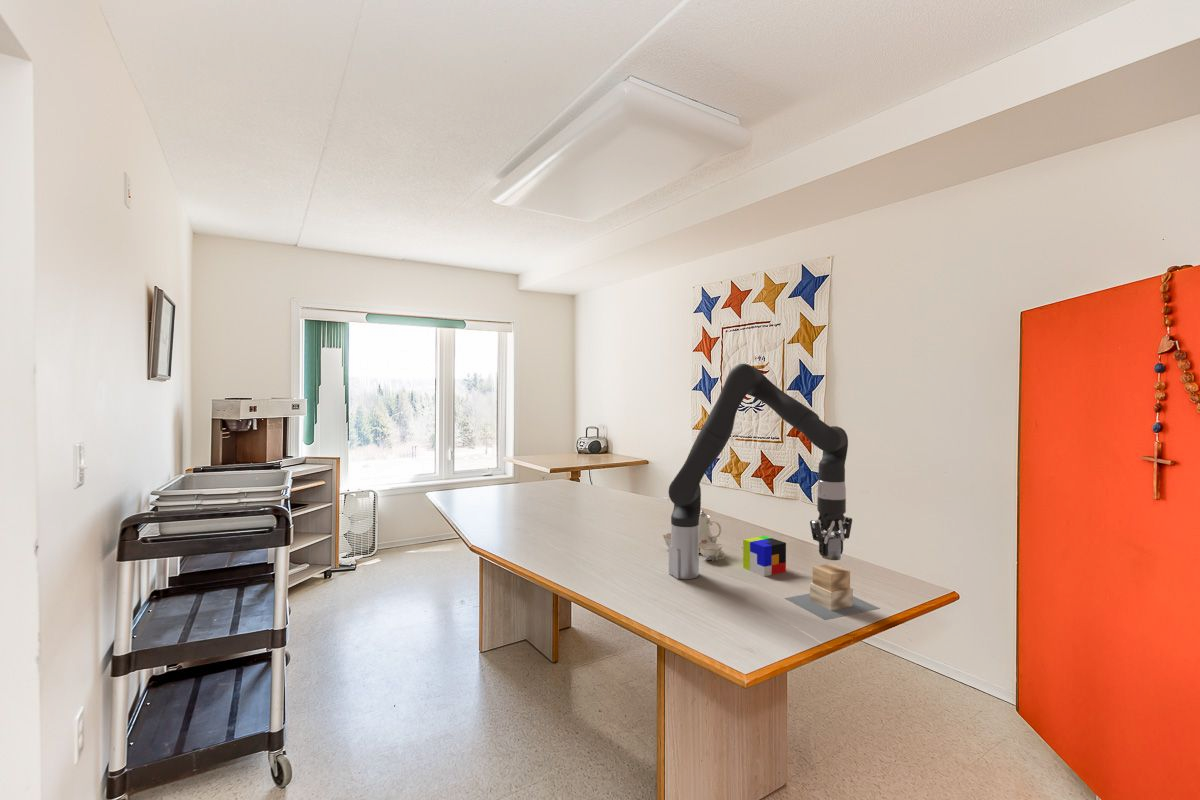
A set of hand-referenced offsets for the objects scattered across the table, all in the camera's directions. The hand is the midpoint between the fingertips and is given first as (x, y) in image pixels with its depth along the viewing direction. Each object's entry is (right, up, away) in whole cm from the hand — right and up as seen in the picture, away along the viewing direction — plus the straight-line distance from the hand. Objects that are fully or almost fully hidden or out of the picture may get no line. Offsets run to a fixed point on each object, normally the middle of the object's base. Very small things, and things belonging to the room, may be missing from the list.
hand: (831, 554), depth 154 cm
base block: (0, -14, 0) cm, 14 cm away
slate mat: (0, -15, 0) cm, 15 cm away
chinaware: (-30, -14, +51) cm, 60 cm away
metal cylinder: (0, -1, 0) cm, 1 cm away
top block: (0, -9, 0) cm, 9 cm away
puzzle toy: (-10, -14, +31) cm, 35 cm away
